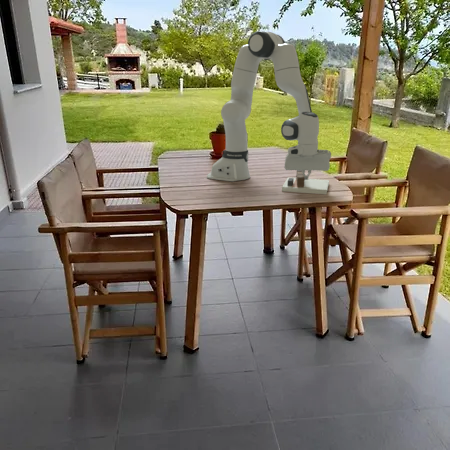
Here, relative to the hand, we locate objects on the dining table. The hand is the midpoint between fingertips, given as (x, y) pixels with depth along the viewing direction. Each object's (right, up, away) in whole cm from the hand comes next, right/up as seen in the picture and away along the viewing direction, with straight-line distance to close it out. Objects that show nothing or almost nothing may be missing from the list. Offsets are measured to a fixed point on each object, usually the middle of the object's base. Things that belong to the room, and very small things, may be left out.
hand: (306, 179), depth 187 cm
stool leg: (-2, -1, +5) cm, 6 cm away
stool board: (+1, -3, +5) cm, 6 cm away
